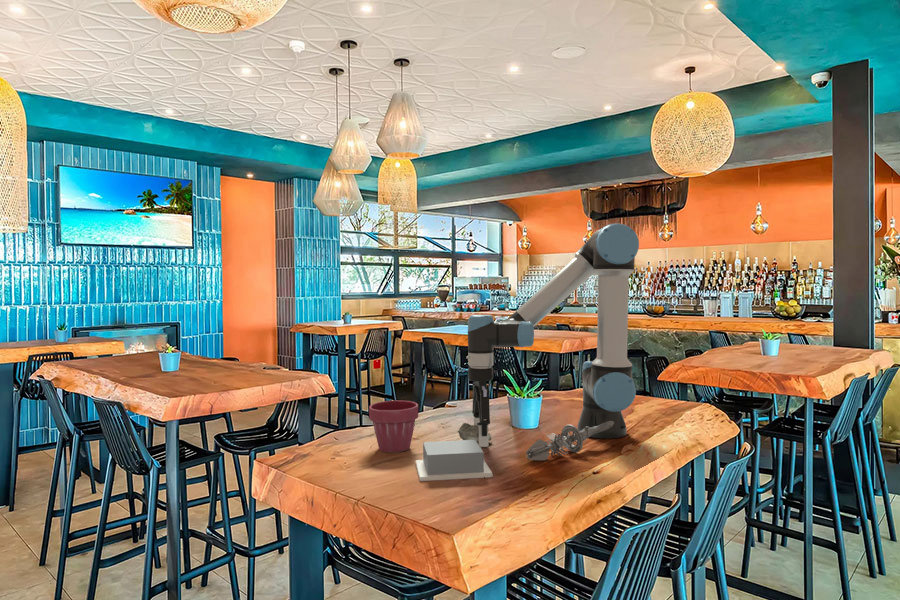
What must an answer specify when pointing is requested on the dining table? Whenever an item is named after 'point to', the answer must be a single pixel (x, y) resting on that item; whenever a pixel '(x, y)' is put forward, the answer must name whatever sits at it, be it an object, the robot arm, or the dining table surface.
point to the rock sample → (470, 432)
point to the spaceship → (564, 441)
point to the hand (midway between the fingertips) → (480, 442)
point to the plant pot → (393, 424)
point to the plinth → (452, 461)
